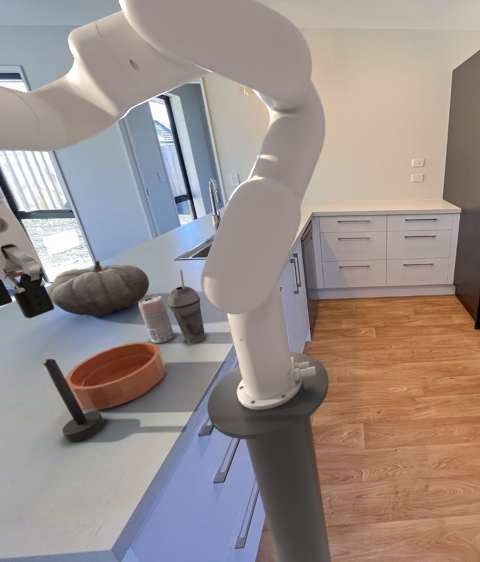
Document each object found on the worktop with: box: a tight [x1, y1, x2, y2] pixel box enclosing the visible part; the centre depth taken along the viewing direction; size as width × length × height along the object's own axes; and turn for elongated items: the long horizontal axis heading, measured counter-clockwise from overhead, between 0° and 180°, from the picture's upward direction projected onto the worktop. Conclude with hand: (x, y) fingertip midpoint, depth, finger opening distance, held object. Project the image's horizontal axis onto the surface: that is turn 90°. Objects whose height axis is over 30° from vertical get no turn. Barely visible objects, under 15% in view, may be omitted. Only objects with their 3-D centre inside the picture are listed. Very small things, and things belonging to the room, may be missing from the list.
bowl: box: [65, 341, 167, 411], centre depth 65 cm, size 16×16×6 cm
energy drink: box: [138, 295, 175, 344], centre depth 81 cm, size 5×5×12 cm
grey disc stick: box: [43, 358, 105, 443], centre depth 52 cm, size 5×5×16 cm
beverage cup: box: [167, 269, 206, 345], centre depth 79 cm, size 7×7×20 cm
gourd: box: [47, 259, 150, 317], centre depth 99 cm, size 25×25×17 cm
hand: (19, 309), depth 45 cm, fingers open, 9 cm apart
